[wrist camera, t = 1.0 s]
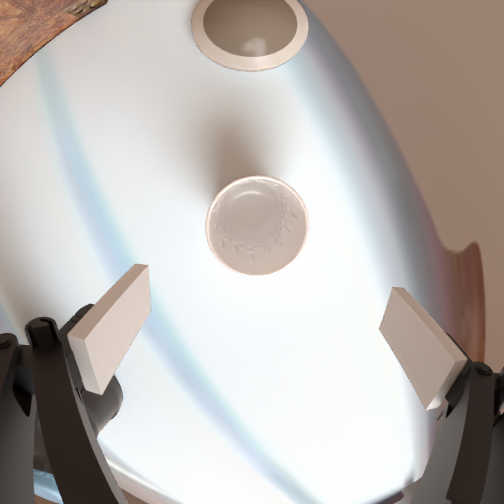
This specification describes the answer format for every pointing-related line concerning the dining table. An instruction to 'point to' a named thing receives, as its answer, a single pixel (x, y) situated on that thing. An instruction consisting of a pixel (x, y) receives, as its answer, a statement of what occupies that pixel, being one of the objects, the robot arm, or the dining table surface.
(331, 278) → the dining table surface
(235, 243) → the white cup
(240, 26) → the beige saucer
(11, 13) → the book
